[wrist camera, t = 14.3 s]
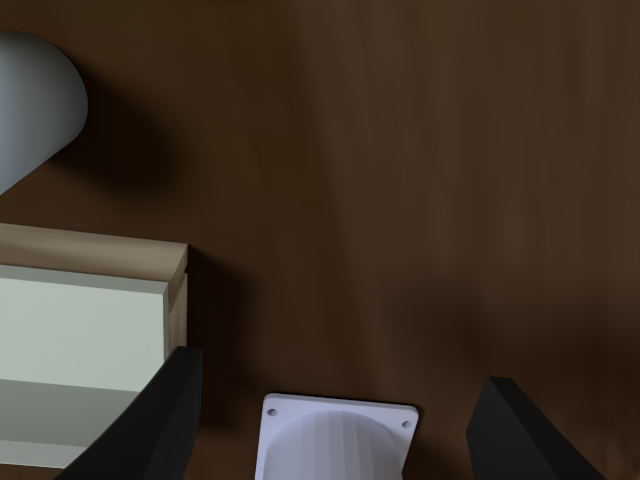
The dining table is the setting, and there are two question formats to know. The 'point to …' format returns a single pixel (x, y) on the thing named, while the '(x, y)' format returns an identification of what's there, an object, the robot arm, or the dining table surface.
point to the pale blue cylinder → (35, 104)
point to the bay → (104, 262)
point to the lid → (73, 358)
